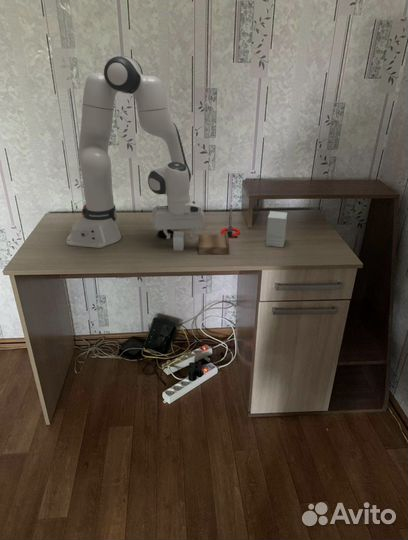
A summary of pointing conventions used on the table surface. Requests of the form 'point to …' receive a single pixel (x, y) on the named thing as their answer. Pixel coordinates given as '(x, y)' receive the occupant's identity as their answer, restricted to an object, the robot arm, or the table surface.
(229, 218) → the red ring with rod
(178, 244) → the aluminium block
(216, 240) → the wooden tray
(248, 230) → the table surface
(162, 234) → the webcam
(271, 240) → the supplement box
